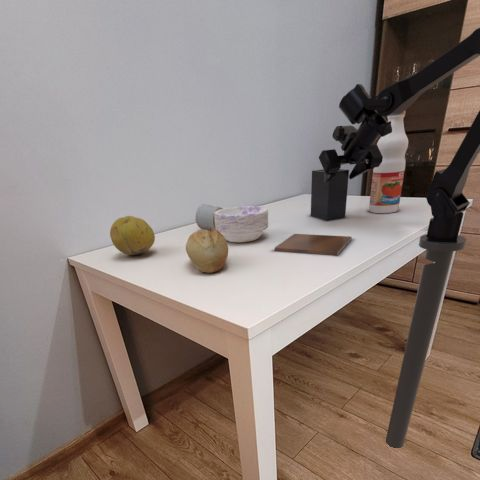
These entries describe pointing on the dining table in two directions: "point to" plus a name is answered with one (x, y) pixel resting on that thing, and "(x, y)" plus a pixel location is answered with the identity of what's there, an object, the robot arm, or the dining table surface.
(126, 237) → the fruit
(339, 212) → the toaster
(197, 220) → the ceramic mug
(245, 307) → the dining table surface
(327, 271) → the dining table surface
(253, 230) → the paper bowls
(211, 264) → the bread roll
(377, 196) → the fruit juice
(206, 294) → the dining table surface
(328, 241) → the board
